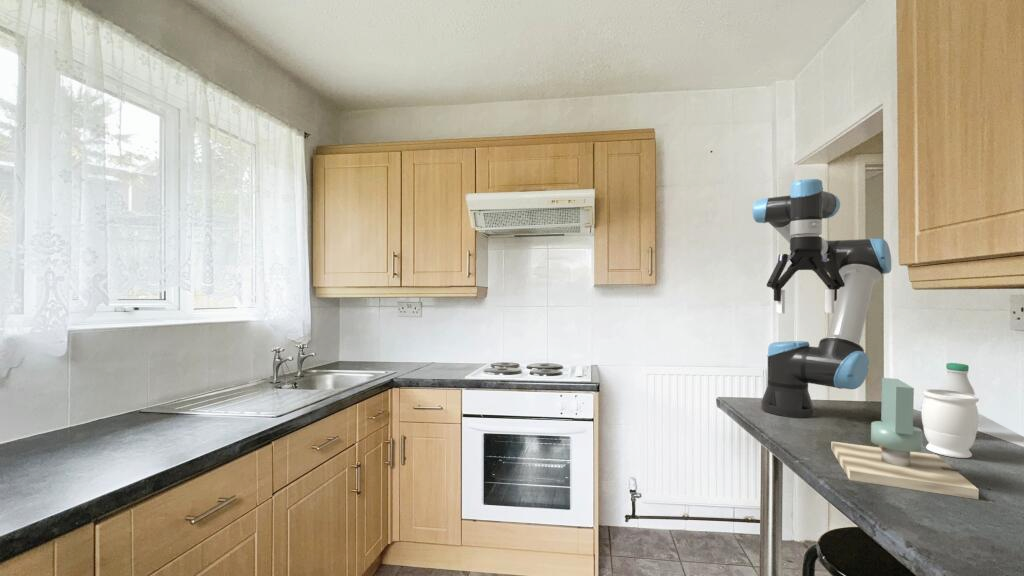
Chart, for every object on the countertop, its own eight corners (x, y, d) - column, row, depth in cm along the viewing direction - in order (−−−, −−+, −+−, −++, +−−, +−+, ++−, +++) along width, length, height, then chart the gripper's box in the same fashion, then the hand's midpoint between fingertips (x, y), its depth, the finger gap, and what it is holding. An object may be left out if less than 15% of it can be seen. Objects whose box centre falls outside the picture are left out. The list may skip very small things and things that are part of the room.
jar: (970, 450, 122) (971, 392, 122) (984, 463, 113) (985, 400, 113) (916, 443, 127) (917, 386, 127) (925, 454, 118) (927, 394, 118)
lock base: (830, 448, 122) (831, 426, 122) (939, 462, 113) (939, 438, 113) (849, 479, 103) (850, 453, 102) (983, 500, 94) (983, 471, 93)
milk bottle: (950, 438, 132) (951, 365, 132) (930, 429, 139) (932, 361, 139) (982, 439, 130) (984, 366, 130) (961, 431, 138) (962, 362, 138)
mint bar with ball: (877, 449, 105) (879, 385, 104) (863, 432, 116) (864, 375, 116) (930, 455, 101) (931, 389, 101) (910, 438, 112) (911, 378, 112)
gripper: (767, 235, 129) (767, 314, 129) (860, 235, 128) (859, 313, 129) (753, 237, 136) (753, 312, 137) (841, 237, 136) (840, 311, 136)
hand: (805, 313), depth 133 cm, fingers open, 13 cm apart
